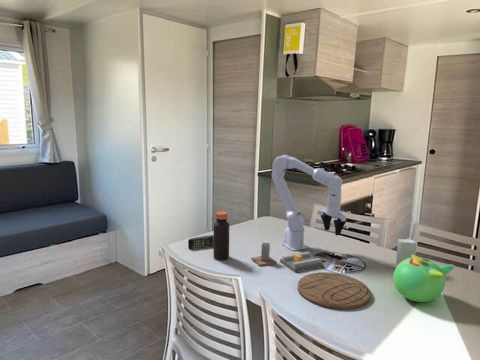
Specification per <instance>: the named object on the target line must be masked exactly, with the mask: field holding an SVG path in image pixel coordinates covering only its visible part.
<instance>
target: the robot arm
mask: <svg viewBox="0 0 480 360" xmlns="http://www.w3.org/2000/svg"><path fill="white" fill-rule="evenodd" d="M271 166H272V168H271V170H272V171H271V179H272V181H273V184H274V187H275V188H276V190H277V191H276V192H277V193H278V195H279V197H280V200H281V203H282V205H283V207H284V209H285V212H286V219H287V227H286V228H285V229H284V238H283V241H284V242H283V243H282V245H283V246H285V247H286V248H288V249H289V250H291V251H294V252H296V251H300V250H307V249H308V247H307V246H305V245H304V239H305V227H304V224H305V222H306V217H305V215H304V214H302V212H301V210H300V209H299V208H298V207H297V204H296V202H295V201H294V198H293V196H292V193H291V191H290V189H289V187H288V186H289V185H288V183H287V182H286V180H285V174H286V172H287V170H288V169H289V170H290V169H291V170H292V169H297V170H299V171H301V172H304V173H305V174H308V175H310V176H311V177H312V180H314V181H316V182H318V183H320V184H322V185H324V186H327V188H328V192H327V203H326V206H327V207H326V208H322V209H321V214H320V218H321V220H322V223H323V227H324V231H330V228H331V222H332V221H333V224H334V229H335V230H334V233H335V236H340V235H341V233H342V231H343V227H344V226H345V225H346V223H347V217H346V216H345V215H344V214H343V213H342V211H341V204H342V185H343V179H342V178H341V176H339V175H336V174H335V173H331V172H328V171H326V170H325V168H323V167H321V168H320V167H318V168H314V167H312V166H310V165H308V164H307V163H305V162H303V161H301V160H299V159H298V158H297V157H293V156H290V155H288V154H282V155H279V156H277V157H275V158H274V160H273V162H272V165H271ZM332 218H334V220H332Z"/></svg>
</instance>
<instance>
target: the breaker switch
mask: <svg viewBox="0 0 480 360" xmlns="http://www.w3.org/2000/svg"><path fill="white" fill-rule="evenodd" d="M294 261H296V262H300V261H302V256H301V255H299V254H298V253H294Z"/></svg>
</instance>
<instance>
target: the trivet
mask: <svg viewBox="0 0 480 360" xmlns="http://www.w3.org/2000/svg"><path fill="white" fill-rule="evenodd" d="M297 291H298V294H299V295H300V296H301V298H303V299H304V300H306V301H307V302H309V303H311V304H313V305H316V306H318V307H321V308H326V309H331V310H338V311H339V310H340V311H341V310H343V311H347V310H354V309H359V308H362V307H364V306H366V305H367V304H368V303H369V302H370V299H371V290H370V288H369V287H368V286H367V285H366V284H365V283H364V282H363V281H360V280H359V279H358V278H355V277H352V276H349V275H346V274H342V273H338V272H337V273H336V272H327V271H326V272H313V273H309V274H306V275H304V276H302V277H301V278H299V280H298V282H297Z"/></svg>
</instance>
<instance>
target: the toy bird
mask: <svg viewBox="0 0 480 360" xmlns="http://www.w3.org/2000/svg"><path fill="white" fill-rule="evenodd" d="M454 269H455V265H454V264H444V265H438V264H437V263H435V262H433V261H432V260H429V259H427V258H423V257H419V256H418V255H416V254H415V255H412V258H408V259H405V260H403V261H402V262H401V263H399V264H398V266H397V267H396V266H395V269H394V272H393V275H392V276H393V277H392V280H393V284H394V288H395V289H396V290H397V291H398V293H399V294H400V295H401V296H403V297H404V298H406V299H408V300H410V301H412V302H417V303H429V302H432V301H434V300H436V299H438V297H440V296H441V295H442V293H443V291H444V290H445V287H446V276H447V275H448V274H449V273H450V272H451V271H453V270H454Z"/></svg>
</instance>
